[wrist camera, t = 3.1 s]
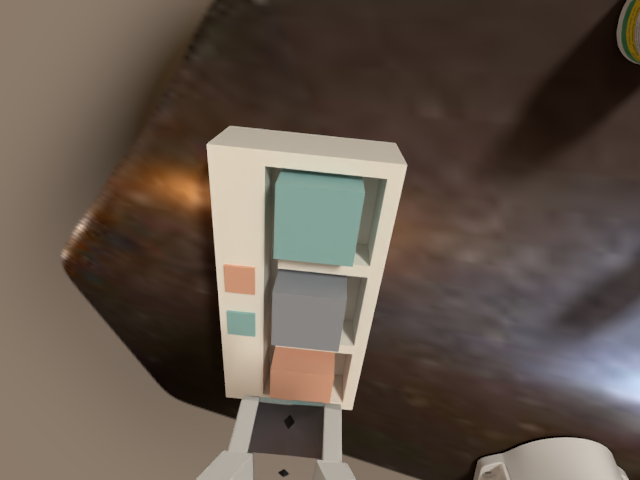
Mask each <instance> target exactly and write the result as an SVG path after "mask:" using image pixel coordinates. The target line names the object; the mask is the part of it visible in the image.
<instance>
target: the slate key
mask: <svg viewBox="0 0 640 480" xmlns="http://www.w3.org/2000/svg"><path fill="white" fill-rule="evenodd" d="M346 304H347V276H346V275H336V274H326V273H317V272H307V271H297V270H288V269H279V270H278V273H277V277H276V281H275V285H274V288H273V292H272V330H271V345H276V346H285V347H295V348H305V349H314V350H324V351H334V352H338V351H339V345H340V339H341V333H342V327H343V321H344V316H345V310H346Z"/></svg>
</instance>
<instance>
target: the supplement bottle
mask: <svg viewBox="0 0 640 480" xmlns="http://www.w3.org/2000/svg"><path fill="white" fill-rule="evenodd" d="M617 43H618V47H619V49H620V51H621V53H622V54H623V55H624V56H625V57H626V58H627V59H628V60H630V61H631V62H633V63H636V64H639V65H640V0H627V1H626V3H625V4H624V6H623V9H622V11H621V14H620V17H619V21H618V26H617Z"/></svg>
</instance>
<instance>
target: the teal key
mask: <svg viewBox="0 0 640 480" xmlns="http://www.w3.org/2000/svg"><path fill="white" fill-rule="evenodd" d="M364 197H365V189H364V182H363V176H353V175H344V174H334V173H324V172H315V171H305V170H296V169H286V168H282V170H281V172H280V174H279V176H278V179H277V181H276V183H275V214H274V252H273V259H282V260H291V261H301V262H311V263H320V264H330V265H340V266H349V267H353V262H354V256H355V250H356V244H357V238H358V233H359V227H360V221H361V215H362V209H363V203H364Z"/></svg>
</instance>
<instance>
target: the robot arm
mask: <svg viewBox="0 0 640 480" xmlns="http://www.w3.org/2000/svg"><path fill="white" fill-rule="evenodd" d="M196 480H356V478H355V477H354V475H353V473H352V471H351V469H350V467H349V466H348V464H347V463H344V462H342V410H341V405H340V404H330V403H324V402H312V401H300V400H285V399H276V398H267V397H260V396H249V395H244V396H243V398H242V400H241V403H240V407H239V411H238V414H237V418H236V422H235V425H234V429H233V433H232V436H231V440H230V444H229V447H228V451H224V450H223V451H222V452H221V453H220V454H219V455H218V456H217V457H216V458H215V459H214V460H213V461H212V462H211V463H210V464H209V465H208V466H207V468H206V469H205V470H204V471H203V472H202V473H201V474H200V475H199V476H198V477H197V478H196ZM473 480H629V479H628V477H627V475H626V474H625V472H624V471H623V470H622V469H621V468H620V467H618V466H617V465H616V463H615V460H614V458H613V455H612V453H611V452H610V450H609V449H608V448H606V447H605V446H603V445H601V444H599V443H597V442H594V441H591V440H587V439H581V438H570V437H562V438H549V439H543V440H538V441H533V442H530V443H527V444H524V445H521V446H518V447H516V448H514V449H512V450H509V451H507V452H504V453H501V454H496V455H491V456H487V457H483V458H481V459H479V460H478V462H477V466H476V470H475V475H474V479H473Z"/></svg>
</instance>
